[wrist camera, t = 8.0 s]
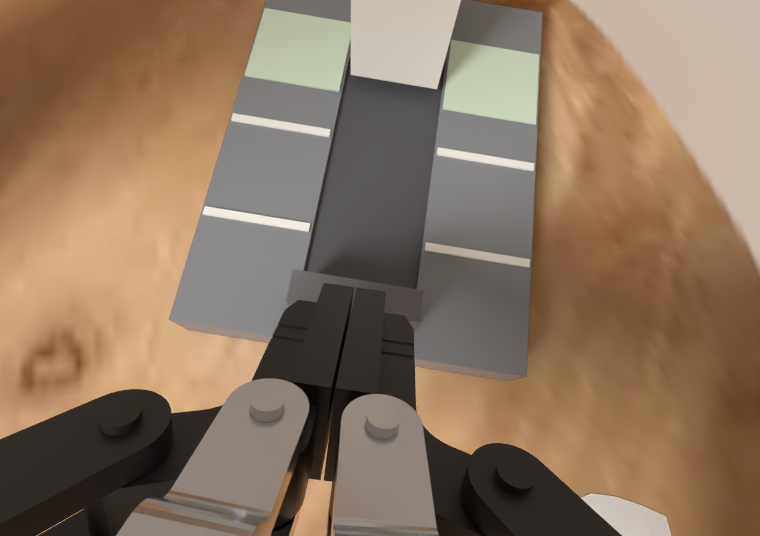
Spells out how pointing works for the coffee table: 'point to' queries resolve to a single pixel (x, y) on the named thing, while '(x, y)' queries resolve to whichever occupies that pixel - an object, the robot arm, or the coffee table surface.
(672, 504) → the coffee table surface
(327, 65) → the console
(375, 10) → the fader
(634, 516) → the heart sculpture
